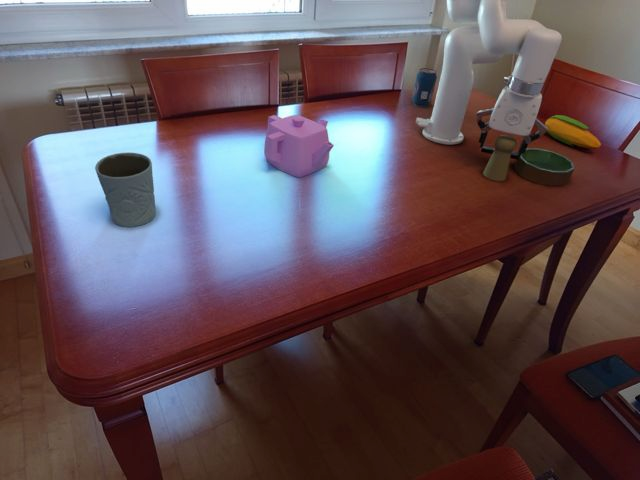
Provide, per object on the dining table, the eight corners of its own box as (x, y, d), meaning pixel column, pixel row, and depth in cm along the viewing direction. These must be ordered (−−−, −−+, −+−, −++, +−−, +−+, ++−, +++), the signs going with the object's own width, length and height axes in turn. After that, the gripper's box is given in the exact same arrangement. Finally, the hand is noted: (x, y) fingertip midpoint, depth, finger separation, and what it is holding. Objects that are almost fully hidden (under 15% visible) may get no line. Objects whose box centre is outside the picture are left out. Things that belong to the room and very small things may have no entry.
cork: (509, 176, 118) (524, 138, 111) (500, 183, 114) (514, 144, 108) (489, 168, 121) (501, 130, 114) (479, 174, 117) (491, 136, 111)
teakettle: (265, 147, 121) (265, 103, 113) (326, 150, 122) (330, 107, 115) (262, 177, 107) (262, 130, 100) (330, 180, 109) (335, 133, 101)
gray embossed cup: (137, 198, 96) (127, 147, 89) (171, 213, 92) (163, 162, 85) (97, 218, 89) (82, 165, 81) (132, 236, 85) (119, 182, 78)
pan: (475, 169, 120) (480, 155, 117) (480, 150, 130) (484, 136, 128) (569, 190, 114) (576, 176, 111) (565, 168, 124) (572, 155, 122)
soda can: (410, 100, 162) (417, 66, 155) (429, 102, 162) (436, 68, 155) (411, 106, 157) (418, 72, 149) (431, 108, 156) (439, 74, 149)
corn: (559, 107, 143) (615, 131, 129) (551, 129, 148) (604, 154, 134) (543, 111, 141) (598, 135, 127) (536, 133, 146) (588, 159, 132)
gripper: (486, 82, 103) (465, 147, 114) (564, 98, 99) (533, 165, 110) (489, 73, 108) (468, 136, 119) (562, 88, 104) (534, 152, 115)
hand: (499, 150), depth 114 cm, fingers open, 9 cm apart
